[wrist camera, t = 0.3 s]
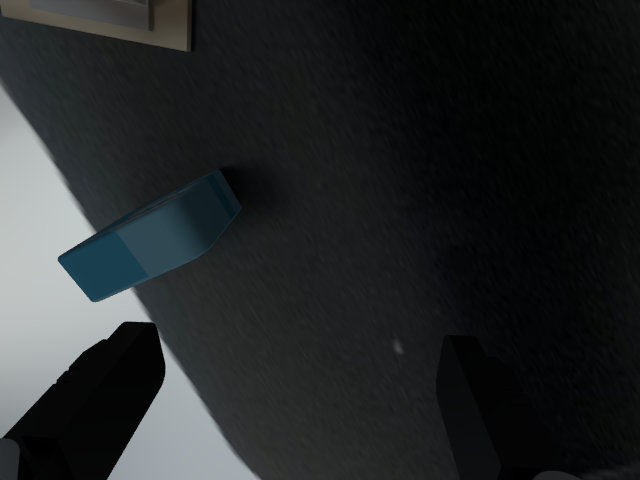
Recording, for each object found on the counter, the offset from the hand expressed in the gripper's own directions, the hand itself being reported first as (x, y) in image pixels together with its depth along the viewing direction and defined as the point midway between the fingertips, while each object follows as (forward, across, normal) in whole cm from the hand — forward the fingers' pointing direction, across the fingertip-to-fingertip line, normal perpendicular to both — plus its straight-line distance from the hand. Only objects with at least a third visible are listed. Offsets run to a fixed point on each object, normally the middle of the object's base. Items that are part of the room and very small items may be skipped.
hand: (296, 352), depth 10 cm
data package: (+28, +15, +6) cm, 32 cm away
